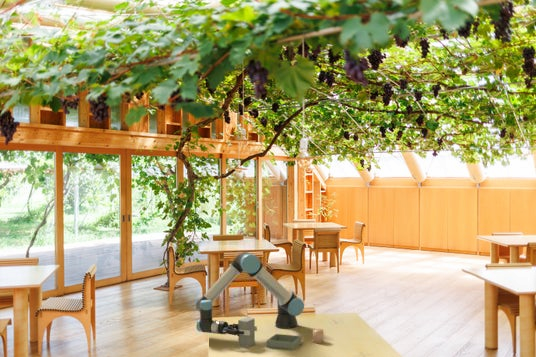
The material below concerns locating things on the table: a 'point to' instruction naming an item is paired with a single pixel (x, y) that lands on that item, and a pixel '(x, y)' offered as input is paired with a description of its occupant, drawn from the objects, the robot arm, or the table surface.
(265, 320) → the table surface
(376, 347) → the table surface
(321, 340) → the peach rounded cylinder
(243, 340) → the skincare box
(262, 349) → the table surface
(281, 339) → the bin
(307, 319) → the table surface
